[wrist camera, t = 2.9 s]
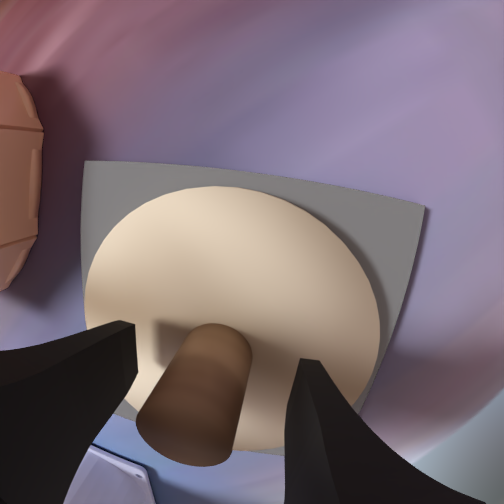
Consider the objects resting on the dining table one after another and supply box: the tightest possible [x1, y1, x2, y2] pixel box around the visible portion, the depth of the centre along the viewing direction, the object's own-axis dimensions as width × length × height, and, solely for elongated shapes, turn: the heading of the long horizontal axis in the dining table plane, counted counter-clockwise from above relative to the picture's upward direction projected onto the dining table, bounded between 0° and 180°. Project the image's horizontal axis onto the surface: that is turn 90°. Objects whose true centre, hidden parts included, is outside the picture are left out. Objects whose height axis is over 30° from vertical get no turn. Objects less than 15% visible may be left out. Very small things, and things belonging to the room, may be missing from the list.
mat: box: [81, 161, 425, 456], centre depth 10 cm, size 12×12×1 cm
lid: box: [84, 186, 380, 467], centre depth 8 cm, size 11×11×5 cm
